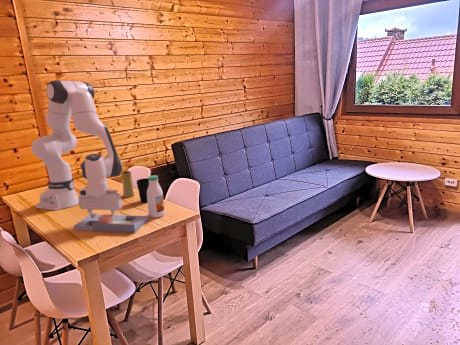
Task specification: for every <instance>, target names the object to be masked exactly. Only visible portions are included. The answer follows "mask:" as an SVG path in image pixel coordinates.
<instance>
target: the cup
mask: <svg viewBox="0 0 460 345" xmlns="http://www.w3.org/2000/svg"><path fill="white" fill-rule="evenodd" d="M136 185H137V191H138V195H139V200H140V203H142V204H148V202H147V189H148V187H149V180H148V177H147V178H145V177H144V178H140V179H137V180H136Z"/></svg>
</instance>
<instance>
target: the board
mask: <svg viewBox="0 0 460 345" xmlns="http://www.w3.org/2000/svg"><path fill="white" fill-rule="evenodd" d="M95 214H96V213H95ZM102 215H103V214H96V217H95V218H91V215H90V214H89V215H87V216H86V217H84V218H83V219H81V220H80V221H78V222H77V223H75V224H74V225H73V229H74V231H91V232H97V233H98V232H99V233H100V232H101V233H121V234H122V233H123V234H136V233H137V232H138V231H139V230H140V229H141V228H142V226H144V225H145V224H146V223H147V222H148V221H149V215H129V214H128V215H127V214H125V215H124V214H123V215H122V214H114V218H113V220H114V222H113V223H99V219H98V218H99V217H101V216H102Z"/></svg>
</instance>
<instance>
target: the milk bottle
mask: <svg viewBox="0 0 460 345" xmlns="http://www.w3.org/2000/svg"><path fill="white" fill-rule="evenodd" d="M147 179H148V180H149V187H148V189H147V202H148V203H147V210H148V217H150V218H153V219H154V218H155V219H156V218H161V217H163V216H165V215H166V214H165V202H164V194H163V189H162V187H161V185H160V183H159V177H158V175H157V174H155V175H149V176H147Z"/></svg>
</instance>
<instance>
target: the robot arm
mask: <svg viewBox="0 0 460 345" xmlns="http://www.w3.org/2000/svg"><path fill="white" fill-rule="evenodd" d="M45 89H46V90H45V92H46V97H47V98H48V102H47V104H48V105H47V109H46V110H47V112H46V121H45V122H46V124H47V126H48V127H49V128H51V130H52V133H51V134H48V135H44V136H41V137H39V138H36V139H34V140H33V141H32V143H31V146H30V148H31V151H32V154H33V155H34V156H35V157H37V158H38V159H40V160H41V161H42V162H43V163H44V165H45V167H46V169H47V173H48V177H49V178H48V179H49V181H47V182H46V183H45V184H46V186H48V187H47V188H46V189H45V190H44V191H43V192H42V193H41V194H40V195H39V198H38V199H39V201H38V203H37V204H36V205H35V209H41V210H51V211H57V210H61V209H67V208H70V207H74V206H76V205H78V206H79V208H80V209H81V210H87V212H88V214H89V215H91V218H95V217H96V213H95V212H94V211H93V210H97V211H100V210H101V211H106V210H107V211H110V212H111V213H110V214H109V215H113V218H114V215H115V213H116V211H120V210H121V209H122V208H123V202H122V198H121V196H122V195H121V193H120V191H118V190H116V189H113V190H112V189H109V182H108V179H107V178H111V177H112V178H113V177H114V178H115V177H118V176H119V175H121V173H122V172H123V164H122V161H121V158H120V156H119V154H118V153H117V152H118V151H117V149H116V147H115V144H114V142H113V138H112V136H111V133H110V130H109V128H108V127H107V124H105V123H103V122H102V121H101V120H100V119H99V116H98V113H97V108H96V104H95V100H94V99H95V95H96V94H95V88H94V87H93V85H92V84H90V83H89V82H85V81H78V80H57V79H55V80H51V81H49V82H48V83H47V86H46V88H45ZM71 120H72V122H73V126H74V127H75V128H76V129H77V130H78V132H81V133H83V134H87V135H91V136H95V137H98V138H100V139H101V140H102V143H103V144H104V148H105V149H106V153H107V156H105V157H104V156H103V155H101V154H100V153H91V154H88V155H85V157H84V160H83V161H82V163H80V169H81V177H83V178H84V179H86V180H87V186H84V187H83V188H81V189H80V190H78V191H77V193H76V190H75V181H74V178H73V175H72V169H71V165H70V163H69V162H67V161H66V160H64V159H63V158H62V154H66V153H69V152H71V151H73V150H74V149H75V148H76V147H77V146H78V142H77V137H76V135H75V134H73V133H72V131H71ZM77 194H78V195H79V196H77Z"/></svg>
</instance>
